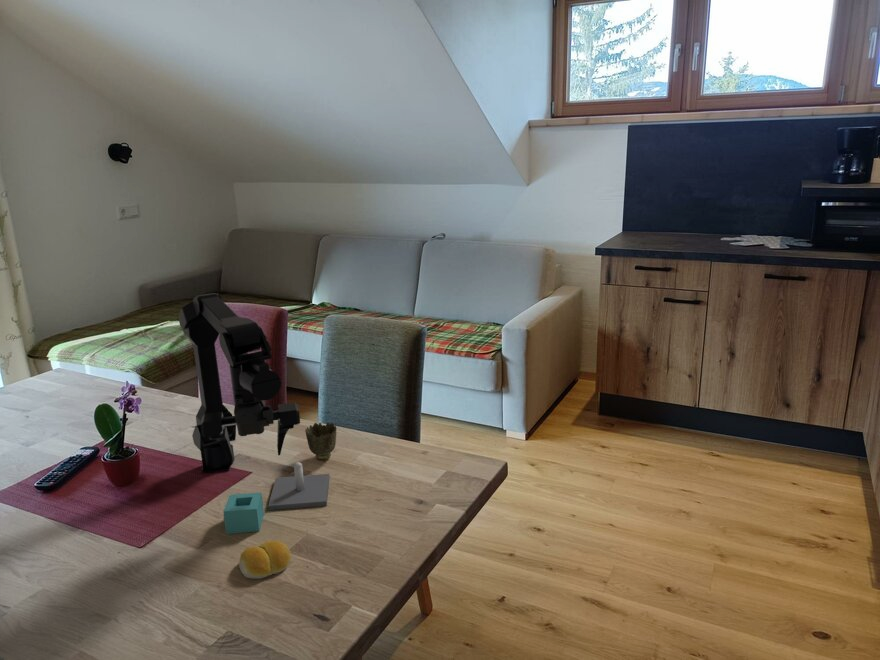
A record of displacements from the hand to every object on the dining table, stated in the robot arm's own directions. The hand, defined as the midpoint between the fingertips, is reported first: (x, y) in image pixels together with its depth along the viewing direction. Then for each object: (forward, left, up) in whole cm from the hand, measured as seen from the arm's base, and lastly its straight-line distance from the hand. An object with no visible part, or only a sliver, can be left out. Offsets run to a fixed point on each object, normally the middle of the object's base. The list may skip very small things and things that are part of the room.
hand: (255, 458), depth 132 cm
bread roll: (+3, -18, -13) cm, 22 cm away
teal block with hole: (-3, -4, -13) cm, 13 cm away
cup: (+11, +23, -13) cm, 29 cm away
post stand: (+7, +7, -13) cm, 16 cm away
